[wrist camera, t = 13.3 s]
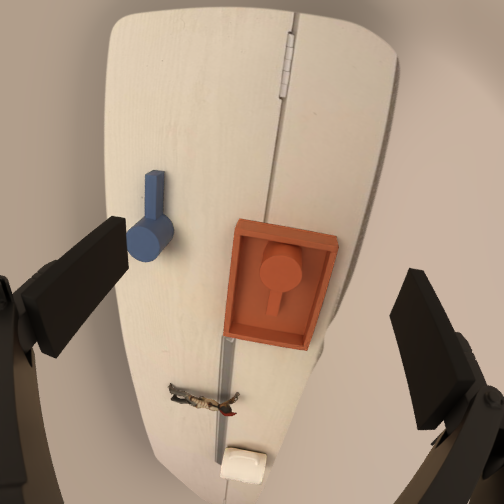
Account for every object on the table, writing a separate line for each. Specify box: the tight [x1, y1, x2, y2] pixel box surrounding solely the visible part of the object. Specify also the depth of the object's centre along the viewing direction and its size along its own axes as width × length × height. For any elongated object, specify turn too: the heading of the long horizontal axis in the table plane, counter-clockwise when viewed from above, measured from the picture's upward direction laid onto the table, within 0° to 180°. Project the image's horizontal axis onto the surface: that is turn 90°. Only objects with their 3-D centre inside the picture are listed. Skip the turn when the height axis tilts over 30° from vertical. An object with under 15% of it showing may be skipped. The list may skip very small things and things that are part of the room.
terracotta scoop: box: [259, 241, 302, 317], centre depth 40 cm, size 10×5×5 cm, turn 173°
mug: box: [220, 448, 266, 484], centre depth 62 cm, size 12×9×8 cm
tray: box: [223, 219, 339, 351], centre depth 42 cm, size 17×12×3 cm
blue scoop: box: [126, 170, 174, 262], centre depth 39 cm, size 10×5×5 cm, turn 173°
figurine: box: [168, 383, 239, 416], centre depth 54 cm, size 6×4×15 cm
